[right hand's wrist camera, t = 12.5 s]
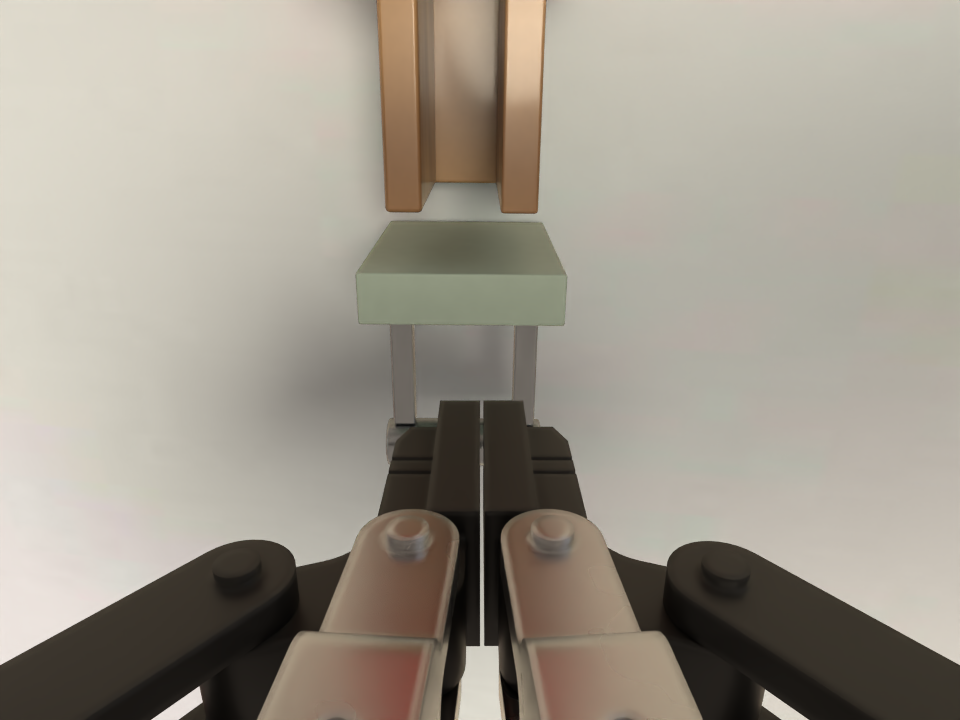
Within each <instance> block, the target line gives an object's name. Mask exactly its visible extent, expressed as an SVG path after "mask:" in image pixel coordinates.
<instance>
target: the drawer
mask: <svg viewBox="0 0 960 720" xmlns="http://www.w3.org/2000/svg"><path fill="white" fill-rule="evenodd" d="M545 18H546V0H377V20H378V43H379V67H380V91H381V115H382V138H383V162H384V186H385V208H386V210H387V211H388V212H420V211H421V210H422V208H423V206H424V204H425V202H426V200H427V198H428V196H429V194H430V192H431V190H432V188H433V185H434V183H435V182H442V183H496V185H497V190H498V196H499V202H500V208H501V212H502V213H521V214H535V213H537V211H538V194H539V169H540V143H541V118H542V93H543V68H544V43H545ZM566 289H567V275H566V273H565V271H564V268H563V266H562V264H561V262H560V260H559V258H558V255H557V253H556V251H555V249H554V247H553V245H552V242H551V240H550V238H549V236H548V234H547V232H546V230H545V227H544V225H543V223H541V222H429V221H391V222H390V224H389V225H388V227H387V228H386V230H385V231H384V233H383V234H382V236H381V237H380V238H379V240H378V241H377V243H376V244H375V246H374V247H373V249H372V250H371V252H370V253H369V255H368V256H367V258H366V259H365V261H364V262H363V264H362V265H361V267H360V268H359V270H358V271H357V273H356V290H357V307H358V322H359V324H390V341H391V364H392V388H393V411H394V418H390V419H389V421H388V425H387V434H386V455H387V461H388V464H390V463H391V460H392V455H393V451H394V447H395V442H396V440H397V439H399V438H400V437H401V436H402V435H403V434H404V433H405V432H406V431H407V430H408V429H409V428H410V427H437V422H438V418H416V416H417V403H416V368H415V333H414V325H514V344H513V378H512V401H523V403H524V410H525V417H526V424H527V427H540V422H539V420H538V419H534V403H535V380H536V356H537V332H538V326H563V325H564V324H565V306H566ZM480 466H483V418H480Z"/></svg>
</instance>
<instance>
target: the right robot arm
mask: <svg viewBox="0 0 960 720" xmlns="http://www.w3.org/2000/svg"><path fill="white" fill-rule="evenodd" d="M483 528H484V646H498V647H499V701H500V709H501V717H502V720H781V719H780V718H778V717H777V716H775V715H774V714H773V713H771V712H770V711H768V710H767V709H766V708H764V707H763V706H762V701H763V696H764V691H765V689H766V690H767V691H769V692H770V693H771V694H773V695H774V696H776V697H777V698H779V699H780V700H781V701H783V702H784V703H786V704H787V705H789V706H790V707H792V708H793V709H794V710H796V711H797V712H799V713H800V714H802V715H803V716H804V717H806V718H807V719H809V720H960V665H958V664H957V663H955V662H953V661H951V660H949V659H947V658H946V657H944V656H942V655H940V654H938V653H936V652H935V651H933V650H931V649H929V648H927V647H925V646H924V645H922V644H920V643H918V642H916V641H914V640H913V639H911V638H909V637H907V636H905V635H903V634H902V633H900V632H898V631H896V630H894V629H892V628H891V627H889V626H887V625H885V624H883V623H881V622H880V621H878V620H876V619H874V618H872V617H870V616H869V615H867V614H865V613H863V612H861V611H859V610H858V609H856V608H854V607H852V606H850V605H848V604H847V603H845V602H843V601H841V600H839V599H837V598H836V597H834V596H832V595H830V594H828V593H827V592H825V591H823V590H821V589H819V588H817V587H816V586H814V585H812V584H810V583H808V582H806V581H805V580H803V579H801V578H799V577H797V576H795V575H794V574H792V573H790V572H788V571H786V570H784V569H783V568H781V567H779V566H777V565H775V564H773V563H772V562H770V561H768V560H766V559H764V558H762V557H761V556H759V555H757V554H755V553H753V552H751V551H749V550H747V549H744V548H741V547H739V546H736V545H732V544H728V543H722V542H714V541H700V542H693V543H689V544H686V545H683V546H681V547H679V548H678V549H676V550H675V551H674V552H673V553H672V554H671V555H670V557H669V559H668V562H667V567H666V566H662V565H657V564H652V563H648V562H643V561H639V560H635V559H631V558H628V557H626V556H623V555H621V554H619V553H616V552H614V551H613V550H611V549H609V548H608V547H607V545H606V543H605V540H604V538H603V535H602V533H601V532H600V530H599V529H598V528H597V527H596V526H595V525H594V524H593V523H592V522H591V521H589V520H587V516H586V512H585V508H584V504H583V500H582V496H581V492H580V488H579V484H578V480H577V476H576V474H575V468H574V464H573V460H572V456H571V452H570V448H569V444H568V441H567V440H566V439H565V438H564V437H563V436H562V435H561V434H560V433H559V432H558V431H557V430H555V429H554V428H553V427H527V424H526V417H525V410H524V403H523V401H484V402H483ZM466 646H480V401H440V407H439V415H438V422H437V427H410V428H409V429H408V430H407V431H406V432H405V433H404V434H403V435H402V436H401V437H400V438H399V439H397V440H396V442H395V447H394V451H393V455H392V460H391V463H390V467H389V474H388V476H387V480H386V484H385V488H384V492H383V497H382V501H381V505H380V509H379V513H378V517H376V518H374V519H373V520H371V521H369V522H368V523H367V524H366V525H365V526H364V527H363V528H362V529H361V530H360V532H359V533H358V535H357V538H356V540H355V543H354V545H353V548H352V550H351V552H349V553H347V554H345V555H342V556H340V557H337V558H334V559H331V560H327V561H323V562H318V563H314V564H309V565H304V566H300V567H296V564H295V559H294V557H293V555H292V553H291V552H290V551H289V550H288V549H287V548H285V547H284V546H282V545H280V544H278V543H275V542H271V541H265V540H244V541H238V542H233V543H229V544H226V545H223V546H220V547H217V548H215V549H213V550H211V551H209V552H207V553H205V554H203V555H201V556H199V557H198V558H196V559H194V560H192V561H190V562H188V563H187V564H185V565H183V566H181V567H179V568H177V569H176V570H174V571H172V572H170V573H168V574H166V575H165V576H163V577H161V578H159V579H157V580H155V581H154V582H152V583H150V584H148V585H146V586H144V587H143V588H141V589H139V590H137V591H135V592H134V593H132V594H130V595H128V596H126V597H124V598H123V599H121V600H119V601H117V602H115V603H113V604H112V605H110V606H108V607H106V608H104V609H102V610H101V611H99V612H97V613H95V614H93V615H91V616H90V617H88V618H86V619H84V620H82V621H80V622H79V623H77V624H75V625H73V626H71V627H69V628H68V629H66V630H64V631H62V632H60V633H58V634H57V635H55V636H53V637H51V638H49V639H47V640H46V641H44V642H42V643H40V644H38V645H36V646H35V647H33V648H31V649H29V650H27V651H25V652H24V653H22V654H20V655H18V656H16V657H15V658H13V659H11V660H9V661H7V662H5V663H4V664H2V665H0V720H151V719H153V718H154V717H156V716H157V715H158V714H160V713H161V712H163V711H164V710H166V709H167V708H168V707H170V706H171V705H173V704H174V703H176V702H177V701H179V700H180V699H181V698H183V697H184V696H186V695H187V694H189V693H190V692H191V691H193V690H194V689H196V688H197V687H199V686H200V690H201V695H202V700H203V703H201V704H200V705H199V706H197V707H196V708H194V709H193V710H192V711H190V712H189V713H187V714H186V715H185V716H183V717H182V718H181V719H179V720H458V717H459V709H460V701H461V678H462V676H463V673H464V671H465V665H466Z"/></svg>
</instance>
